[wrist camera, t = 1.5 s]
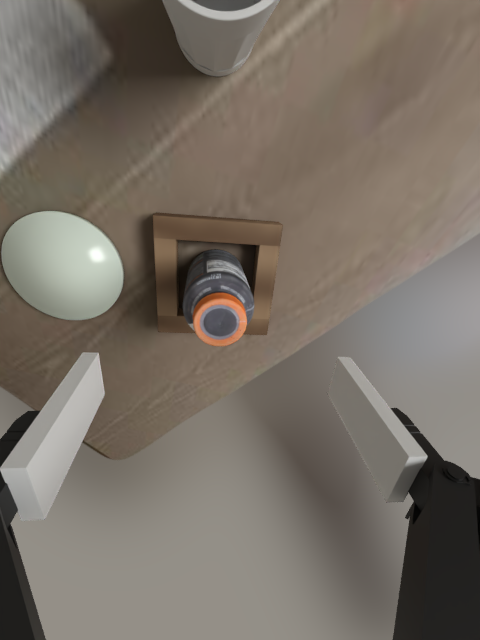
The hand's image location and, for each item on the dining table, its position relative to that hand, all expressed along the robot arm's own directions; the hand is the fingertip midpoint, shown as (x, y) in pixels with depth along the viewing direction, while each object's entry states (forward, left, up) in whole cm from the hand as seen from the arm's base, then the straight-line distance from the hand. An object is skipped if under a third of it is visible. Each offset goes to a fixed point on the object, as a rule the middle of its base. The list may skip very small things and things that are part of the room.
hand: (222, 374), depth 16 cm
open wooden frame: (0, 0, -17) cm, 17 cm away
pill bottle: (0, 0, -17) cm, 17 cm away
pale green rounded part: (0, -15, -17) cm, 23 cm away
